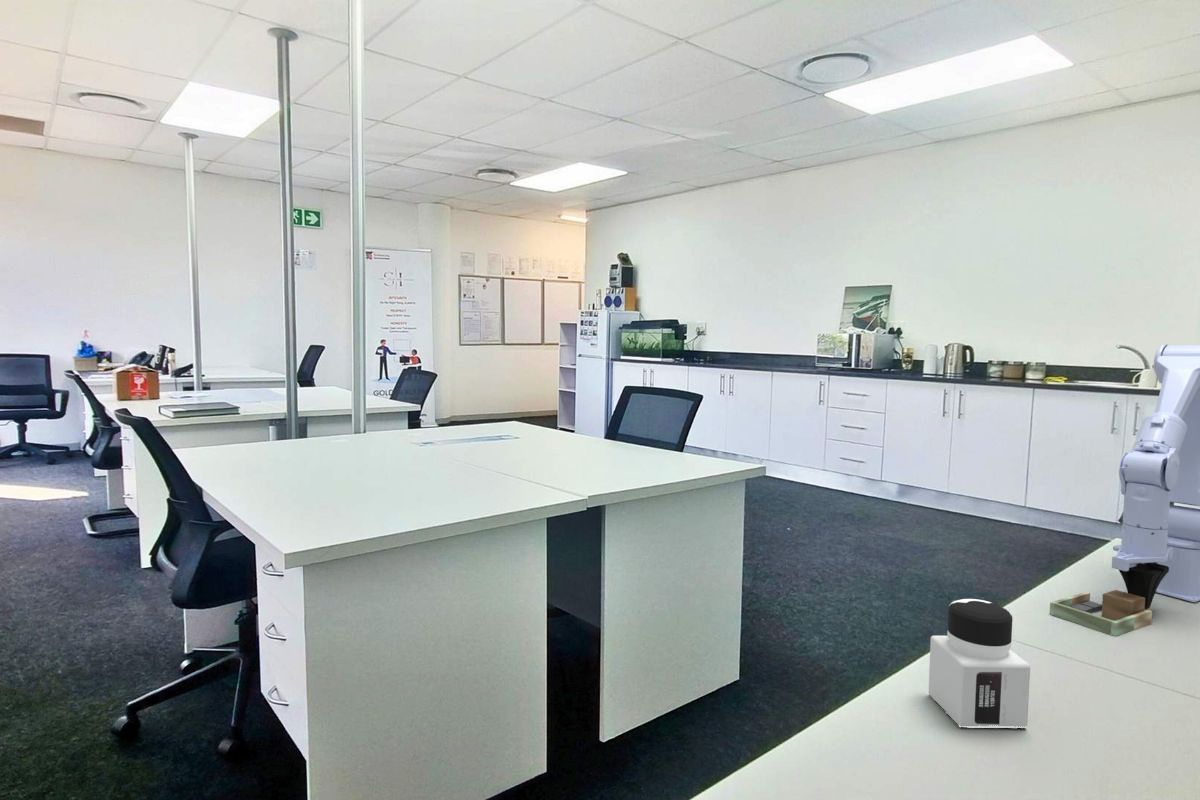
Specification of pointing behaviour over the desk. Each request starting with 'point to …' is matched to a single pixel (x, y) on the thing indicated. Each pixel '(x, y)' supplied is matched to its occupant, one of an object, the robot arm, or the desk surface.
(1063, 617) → the green beige u-shaped frame
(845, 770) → the desk surface
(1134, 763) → the desk surface
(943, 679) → the container
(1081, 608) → the tiles
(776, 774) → the desk surface
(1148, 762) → the desk surface
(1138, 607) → the block
